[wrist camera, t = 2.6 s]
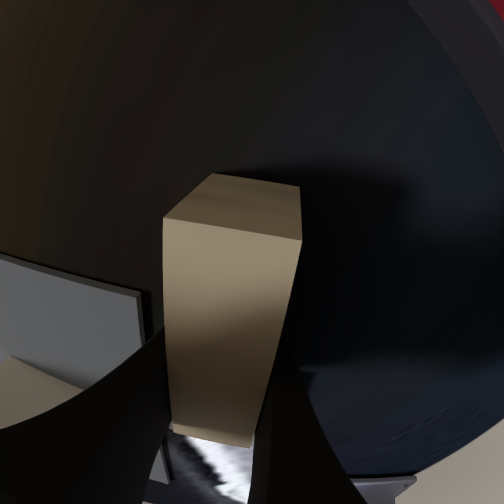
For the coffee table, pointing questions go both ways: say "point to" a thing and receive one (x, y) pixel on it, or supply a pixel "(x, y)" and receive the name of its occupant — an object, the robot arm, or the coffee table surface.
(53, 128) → the coffee table surface
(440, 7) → the calculator
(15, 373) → the tile
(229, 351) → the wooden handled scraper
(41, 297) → the mat
